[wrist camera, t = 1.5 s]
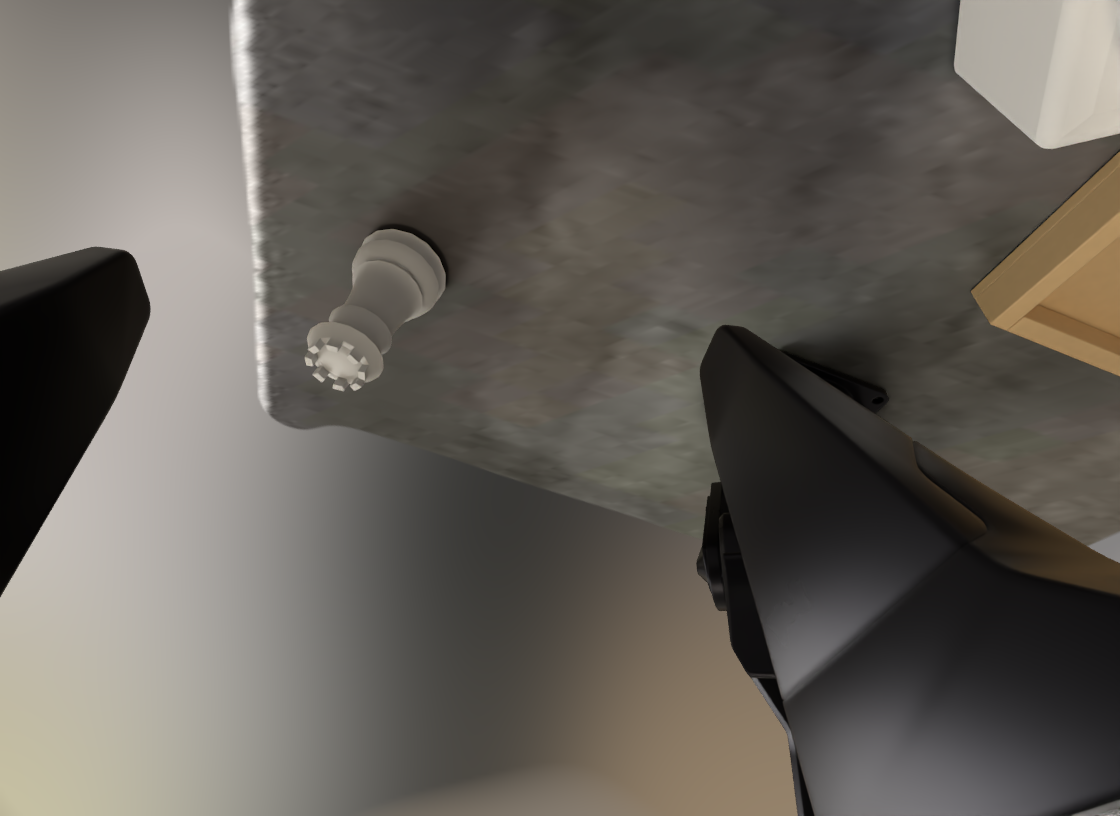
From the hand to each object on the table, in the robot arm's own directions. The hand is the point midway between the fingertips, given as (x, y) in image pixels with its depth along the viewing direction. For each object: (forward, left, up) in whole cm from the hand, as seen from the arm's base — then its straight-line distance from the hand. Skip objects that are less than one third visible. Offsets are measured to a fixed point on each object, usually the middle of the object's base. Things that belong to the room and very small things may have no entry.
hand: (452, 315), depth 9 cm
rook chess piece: (+6, +12, -16) cm, 21 cm away
